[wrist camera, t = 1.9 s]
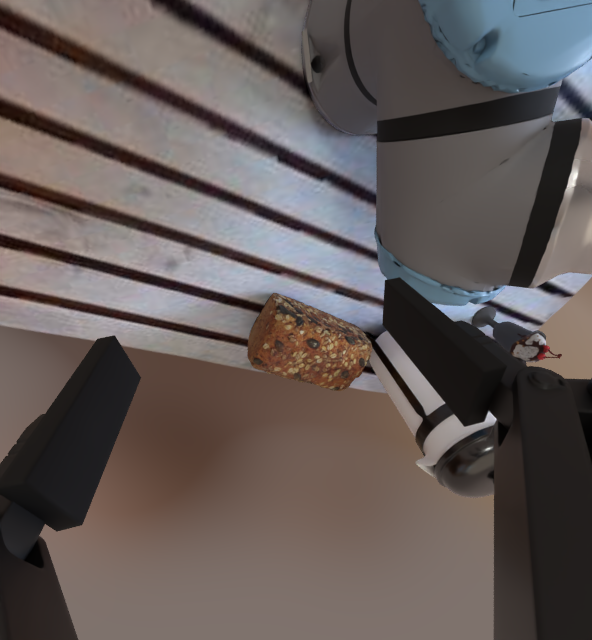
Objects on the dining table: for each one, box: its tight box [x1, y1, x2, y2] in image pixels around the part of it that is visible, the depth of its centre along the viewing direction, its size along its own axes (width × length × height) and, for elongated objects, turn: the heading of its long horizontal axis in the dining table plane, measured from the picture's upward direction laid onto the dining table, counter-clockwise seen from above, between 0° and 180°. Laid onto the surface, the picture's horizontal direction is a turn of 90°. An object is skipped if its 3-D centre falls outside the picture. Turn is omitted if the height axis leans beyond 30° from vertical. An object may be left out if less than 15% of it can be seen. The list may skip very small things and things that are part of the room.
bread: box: [247, 293, 372, 391], centre depth 46 cm, size 19×11×10 cm, turn 59°
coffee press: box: [365, 331, 496, 498], centre depth 43 cm, size 17×16×30 cm
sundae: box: [473, 307, 562, 365], centre depth 50 cm, size 7×7×15 cm
